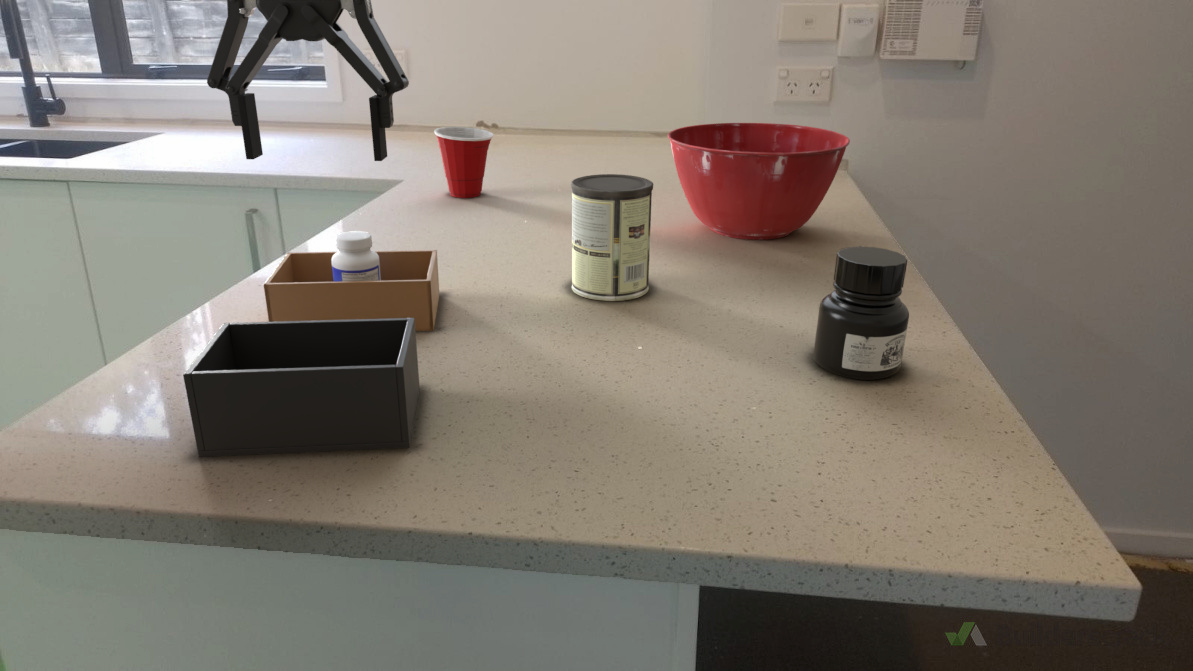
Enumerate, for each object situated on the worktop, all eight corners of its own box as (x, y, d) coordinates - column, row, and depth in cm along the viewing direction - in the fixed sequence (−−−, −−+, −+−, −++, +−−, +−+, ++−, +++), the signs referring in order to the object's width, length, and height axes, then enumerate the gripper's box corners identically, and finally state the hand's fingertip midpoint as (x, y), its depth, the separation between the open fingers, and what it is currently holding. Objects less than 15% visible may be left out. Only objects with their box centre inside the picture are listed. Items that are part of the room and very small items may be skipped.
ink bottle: (856, 390, 83) (873, 275, 79) (792, 358, 90) (805, 251, 85) (920, 369, 88) (940, 260, 83) (855, 341, 95) (870, 238, 90)
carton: (270, 335, 94) (263, 284, 92) (293, 298, 105) (287, 252, 103) (433, 330, 96) (430, 280, 94) (439, 295, 107) (436, 249, 105)
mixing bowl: (692, 258, 124) (699, 152, 118) (644, 210, 149) (648, 122, 143) (869, 250, 129) (884, 148, 123) (793, 205, 155) (802, 120, 149)
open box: (198, 457, 70) (182, 374, 67) (236, 396, 80) (223, 322, 77) (409, 448, 71) (403, 367, 69) (419, 390, 82) (414, 317, 79)
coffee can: (590, 271, 117) (592, 170, 111) (660, 283, 113) (665, 178, 107) (556, 293, 108) (556, 185, 103) (630, 306, 104) (634, 194, 99)
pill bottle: (339, 306, 102) (331, 229, 99) (384, 304, 103) (378, 228, 100) (334, 323, 97) (325, 242, 94) (382, 320, 98) (375, 240, 95)
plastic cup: (482, 203, 152) (480, 136, 148) (427, 198, 155) (423, 133, 150) (503, 190, 162) (502, 127, 157) (452, 186, 165) (449, 124, 160)
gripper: (427, -56, 86) (439, 153, 94) (183, -60, 86) (216, 150, 94) (412, -60, 79) (427, 166, 87) (146, -64, 79) (186, 163, 87)
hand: (317, 158), depth 90 cm, fingers open, 13 cm apart
